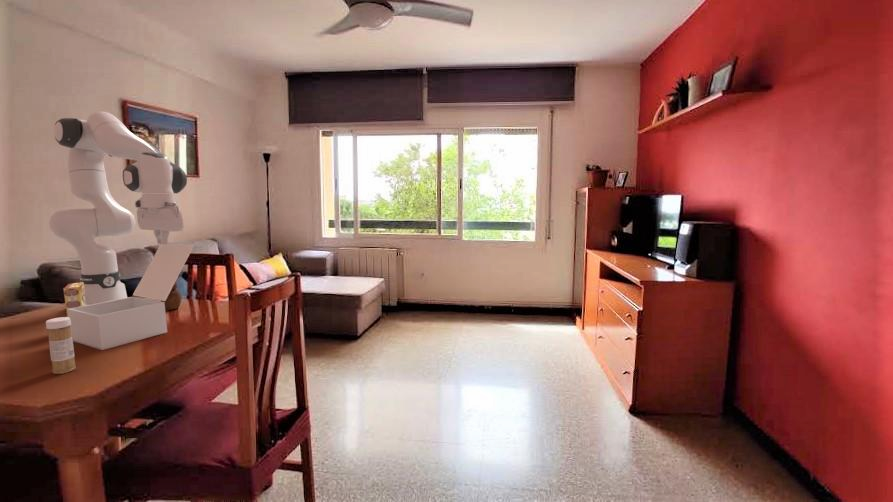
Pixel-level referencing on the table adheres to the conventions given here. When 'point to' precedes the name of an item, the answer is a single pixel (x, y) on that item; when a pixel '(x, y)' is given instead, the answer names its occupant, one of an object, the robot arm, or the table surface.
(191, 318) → the table surface
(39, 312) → the table surface
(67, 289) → the candy box
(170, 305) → the wooden figurine
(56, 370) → the sprinkles bottle
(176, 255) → the carton flap
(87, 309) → the carton
